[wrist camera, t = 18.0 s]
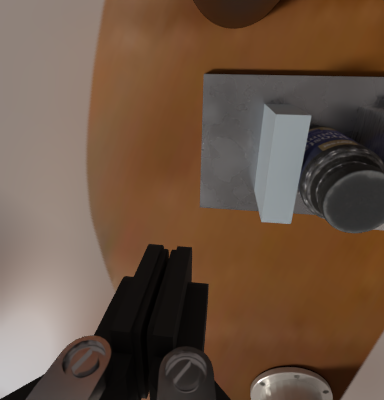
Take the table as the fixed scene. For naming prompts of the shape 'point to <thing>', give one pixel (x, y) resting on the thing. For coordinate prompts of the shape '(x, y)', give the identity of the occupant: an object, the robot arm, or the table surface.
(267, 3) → the water bottle
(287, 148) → the sliding jaw
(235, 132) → the vise base
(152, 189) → the table surface
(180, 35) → the table surface
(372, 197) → the pill bottle
